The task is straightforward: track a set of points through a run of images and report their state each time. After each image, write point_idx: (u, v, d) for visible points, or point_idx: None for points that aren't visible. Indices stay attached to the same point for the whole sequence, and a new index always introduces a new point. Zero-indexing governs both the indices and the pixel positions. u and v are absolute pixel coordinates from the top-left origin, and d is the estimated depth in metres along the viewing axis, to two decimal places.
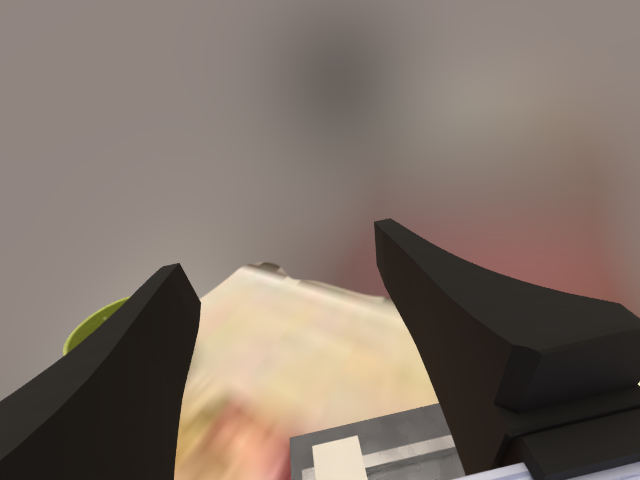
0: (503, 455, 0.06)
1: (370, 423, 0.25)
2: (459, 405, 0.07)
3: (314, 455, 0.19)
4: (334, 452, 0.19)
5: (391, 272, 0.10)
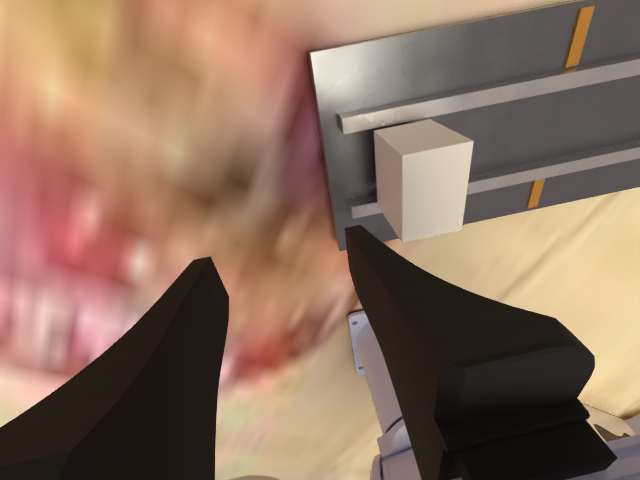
0: (446, 469, 0.06)
1: (448, 34, 0.15)
2: (413, 416, 0.07)
3: (404, 168, 0.13)
4: (433, 164, 0.13)
5: (359, 279, 0.10)
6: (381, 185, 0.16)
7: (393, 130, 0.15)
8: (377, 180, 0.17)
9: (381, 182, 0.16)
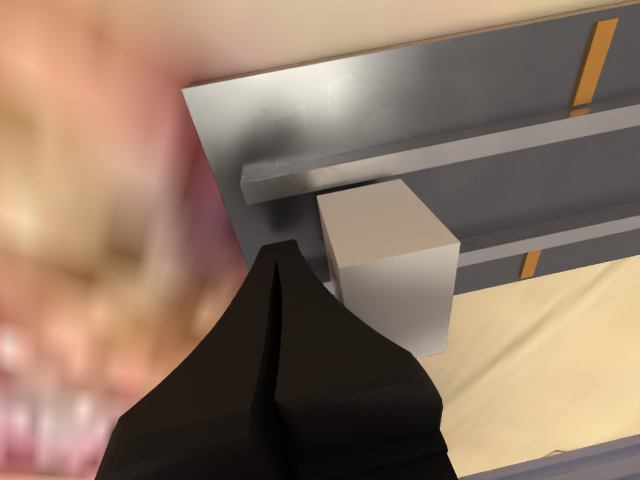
0: None
1: (396, 61, 0.10)
2: None
3: (345, 284, 0.08)
4: (393, 277, 0.08)
5: None
6: (331, 271, 0.11)
7: (343, 198, 0.10)
8: (328, 259, 0.12)
9: (330, 267, 0.11)
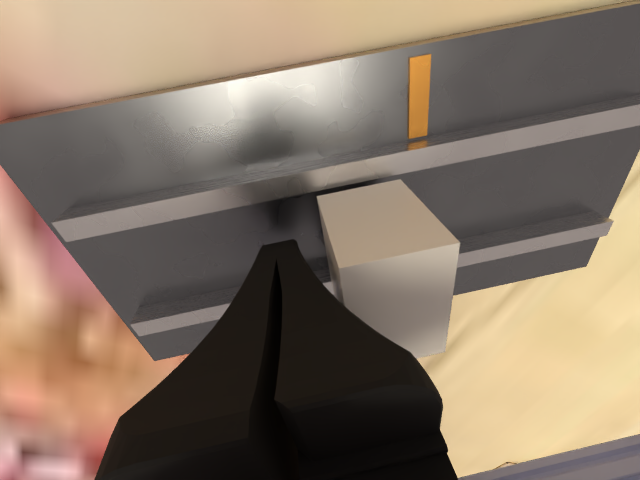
0: None
1: (201, 98, 0.10)
2: None
3: (344, 285, 0.08)
4: (393, 277, 0.08)
5: None
6: (331, 271, 0.11)
7: (343, 199, 0.10)
8: (328, 259, 0.12)
9: (330, 268, 0.11)
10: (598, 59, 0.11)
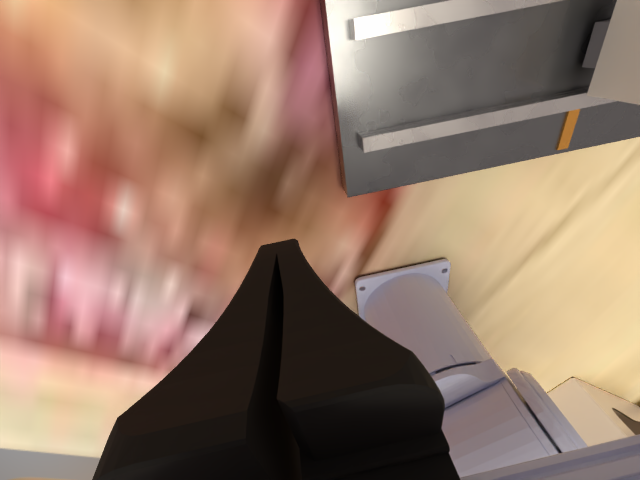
0: None
1: None
2: None
3: None
4: None
5: None
6: (617, 59, 0.14)
7: None
8: (602, 58, 0.15)
9: (618, 54, 0.14)
10: None
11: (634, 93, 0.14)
